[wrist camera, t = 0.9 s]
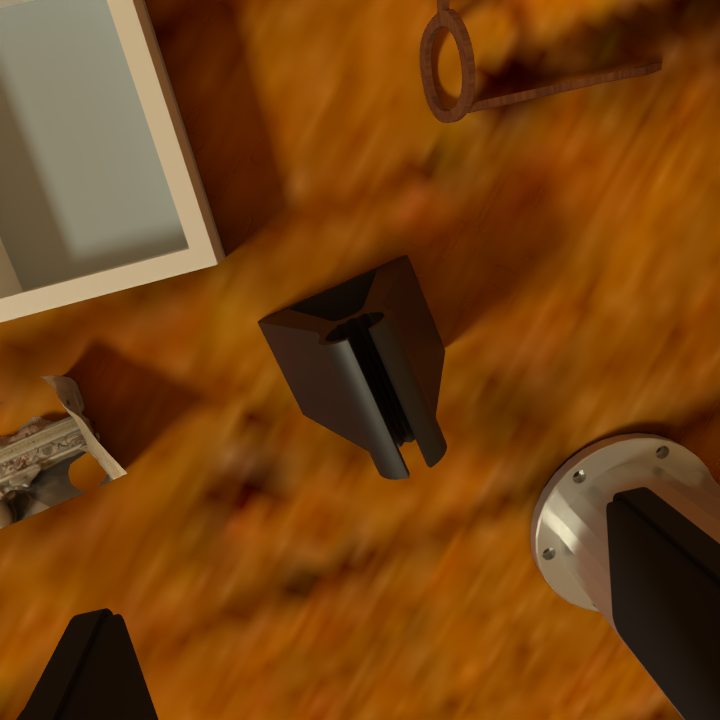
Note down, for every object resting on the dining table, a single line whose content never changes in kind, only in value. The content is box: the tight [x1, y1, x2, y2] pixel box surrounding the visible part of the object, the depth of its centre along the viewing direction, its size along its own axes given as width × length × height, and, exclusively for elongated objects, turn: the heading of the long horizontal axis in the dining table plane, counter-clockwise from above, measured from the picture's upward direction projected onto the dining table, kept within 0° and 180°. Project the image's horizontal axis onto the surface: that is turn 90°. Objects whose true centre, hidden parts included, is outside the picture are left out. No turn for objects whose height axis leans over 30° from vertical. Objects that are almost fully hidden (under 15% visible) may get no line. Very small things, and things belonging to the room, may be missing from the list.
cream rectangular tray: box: [0, 0, 226, 322], centre depth 26 cm, size 11×14×4 cm
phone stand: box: [258, 255, 447, 480], centre depth 27 cm, size 9×6×12 cm, turn 112°
